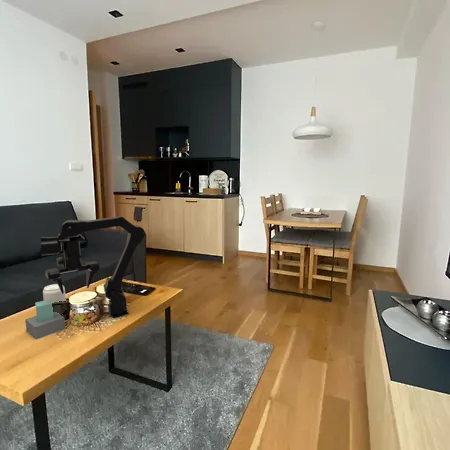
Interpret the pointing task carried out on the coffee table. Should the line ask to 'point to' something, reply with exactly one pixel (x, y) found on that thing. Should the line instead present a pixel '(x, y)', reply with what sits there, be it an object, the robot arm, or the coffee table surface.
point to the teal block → (44, 310)
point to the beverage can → (53, 293)
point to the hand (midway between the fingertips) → (75, 290)
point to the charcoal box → (45, 325)
